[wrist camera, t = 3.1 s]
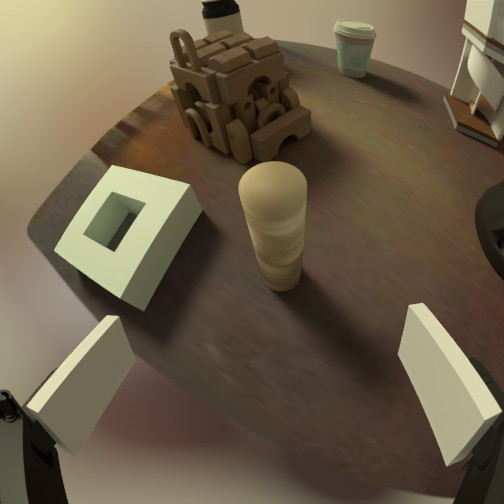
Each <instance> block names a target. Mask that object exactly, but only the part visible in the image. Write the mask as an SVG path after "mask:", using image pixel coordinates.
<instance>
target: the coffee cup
mask: <svg viewBox="0 0 504 504" xmlns="http://www.w3.org/2000/svg"><path fill="white" fill-rule="evenodd" d="M334 31H335V35H336V45H337V54H338V65H339V71H340V73H342V74H343V75H345V76H348V77H353V78H362V77H364V76H365V75H366V71H367V68H368V64H369V60H370V55H371V51H372V47H373V43H374V39H375V38H376V33H375V29H374V27H373V26H371V25H369V24H366V23H363V22H359V21H354V20H338V21H336V24H335V26H334Z"/></svg>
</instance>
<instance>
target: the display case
mask: <svg viewBox="0 0 504 504" xmlns="http://www.w3.org/2000/svg"><path fill="white" fill-rule="evenodd" d="M462 33H463V34H464V35H465V36H466V41H465V45H464V49H463V53H462V57H461V61H460V64H459V68H458V72H457V75H456V78H455V81H454V84H453V87H452V90H451V93H450V94H449V93H447V92H446V93H445V96H444V99H443V100H444V102H445V104H446V107H447V109H448V112H449V114H450V117H451V119H452V122H453V125H454V127H455V129H456V130H458V131H461V132H463V133H465V134H468V135H470V136H472V137H475V138H477V139H479V140H481V141H483V142H485V143H487V144H489V145H491V146H493V147H495V148H496V147H497V146H498V144H499V142H500V140H501V138H502V137H503V135H504V0H467V7H466V12H465V18H464V24H463V29H462Z"/></svg>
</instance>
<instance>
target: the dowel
mask: <svg viewBox="0 0 504 504" xmlns="http://www.w3.org/2000/svg"><path fill="white" fill-rule="evenodd" d="M239 195H240V198H241V202H242V206H243V209H244V213H245V216H246V220H247V224H248V227H249V231H250V234H251V238H252V242H253V245H254V249H255V253H256V256H257V260H258V263H259V267H260V271H261V274H262V278H263V281H264V283H265V284H266V286H267V287H268V288H270V289H271V290H273V291H276V292H286V291H289V290H291V289H293V288H294V287H295V286H296V285H297V284H298V282H299V280H300V277H301V268H302V256H303V244H304V231H305V216H306V199H307V182H306V179H305V177H304V175H303V174H302V172H301V171H300V170H299V169H297V168H296V167H294V166H292V165H290V164H288V163H284V162H278V161H271V162H265V163H261V164H258V165H256V166H254V167H252V168H251V169H249V170H248V171H247V172H246V173H245V174H244V175H243V177H242V178H241V180H240V183H239Z"/></svg>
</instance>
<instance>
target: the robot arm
mask: <svg viewBox="0 0 504 504" xmlns="http://www.w3.org/2000/svg"><path fill="white" fill-rule="evenodd" d="M475 223H476V228H477V233H478V236H479V239H480V242H481V245H482V247H483V249H484V251H485V253H486V255H487V257H488V259H489V261H490V262H491V264H492V265H493V267H494V268H495V269H496V271H497V272H498V273H499V274H500V275H501V276H502V277H503V278H504V180H503V181H502V182H500V183H499V184H497V185H495V186H492V187H490V188H489V189H488V190H486V191H485V193H484V194H483V195H482V197H481V198H480V199H479V201H478V203H477V205H476V209H475ZM398 356H399V357H400V359H401V361H402V363H403V365H404V367H405V370H406V372H407V374H408V376H409V378H410V380H411V382H412V384H413V386H414V388H415V390H416V393H417V395H418V397H419V399H420V401H421V404H422V406H423V408H424V411H425V413H426V415H427V417H428V420H429V422H430V425H431V427H432V430H433V432H434V434H435V437H436V440H437V442H438V445H439V447H440V450H441V453H442V455H443V458H444V461H445V464H446V467H447V466H449V465H451V464H454V463H456V462H458V461H460V460H462V459H464V458H465V457H466V456H467V455H468V454H469V452H470V451H471V450H472V453H473V455H474V456H473V457H472V458H471V459H470V460H469V461H468V462H467V463H466V464H465V465H464V466H463V468H462V469H461V472H463V471H464V470H465V469H466V468H467V467H468V469H467V471H466V474H465V477H464V479H463V482H462V484H461V487H460V489H459V491H458V494H457V496H456V498H455V500H454V502H453V504H504V393H503V392H502V390H501V389H500V387H499V386H498V384H497V383H496V382H494V379H493V377H492V376H491V374H490V375H489V372H488V370H487V369H486V368H485V366H484V365H483V364H482V363H481V362H479V361H478V360H477V359H475V358H474V357H472V358H469V359H467V358H466V356H465V355H464V353H463V352H462V351H461V349H460V348H459V347H458V345H457V344H456V343H455V342H454V340H453V339H452V338H451V336H450V335H449V334H448V333H447V331H446V330H445V329H444V328H443V326H442V325H441V324H440V323H439V321H438V320H437V319H436V318H435V317H434V315H433V314H432V313H431V312H430V311H429V309H428V308H427V307H426V306H425V305H424V304H423V303H420V304H413V305H409V307H408V312H407V317H406V322H405V326H404V331H403V335H402V339H401V344H400V348H399V351H398ZM135 361H136V360H135V357H134V355H133V352H132V350H131V347H130V345H129V342H128V339H127V337H126V334H125V331H124V329H123V326H122V323H121V320H120V317H119V316H109V315H107V316H106V317H105V318H104V319H103V320H102V321H101V322H100V323H99V324H98V325H97V326H96V327H95V328H94V330H93V331H92V332H91V333H90V334H89V335H88V336H87V337H86V338H85V339H84V340H83V342H81V343H80V345H79V346H78V347H77V348H76V349H75V350H74V351H73V352H72V353H71V354H70V356H69V357H68V358H67V359H66V360H65V361H64V362H63V364H61V366H59V367H58V368H56V369H55V370H53V371H52V372H51V373H50V374H49V375H48V376H47V378H46V380H44V381H43V382H42V383H41V386H39V387H38V388H37V389H36V390H35V392H34V393H33V394H32V395H31V397H30V398H29V399H28V400H27V401H26V403H25V404H24V405H23V406H22V407H20V405H19V404H18V403H17V401H16V400H15V399H14V397H13V396H12V395H11V393H10V391H8V390H0V504H68V500H67V496H66V493H65V489H64V484H63V480H62V475H61V470H60V464H59V458H58V452H57V450H56V448H55V447H54V445H55V444H56V443H57V444H58V445H59V446H60V447H61V448H62V449H63V450H64V451H65V452H67V453H69V454H71V455H73V456H75V457H77V456H78V454H79V453H80V451H81V449H82V447H83V446H84V444H85V442H86V441H87V439H88V437H89V435H90V434H91V432H92V430H93V429H94V427H95V425H96V423H97V422H98V420H99V419H100V417H101V415H102V414H103V412H104V410H105V409H106V407H107V405H108V404H109V402H110V400H111V399H112V397H113V396H114V394H115V392H116V391H117V389H118V388H119V386H120V384H121V383H122V381H123V380H124V378H125V376H126V375H127V373H128V372H129V370H130V369H131V367H132V365H133V364H134V362H135Z"/></svg>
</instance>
